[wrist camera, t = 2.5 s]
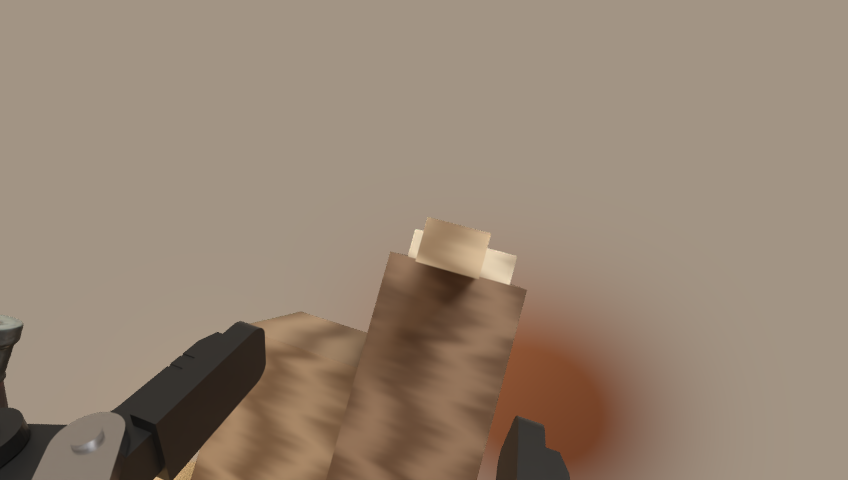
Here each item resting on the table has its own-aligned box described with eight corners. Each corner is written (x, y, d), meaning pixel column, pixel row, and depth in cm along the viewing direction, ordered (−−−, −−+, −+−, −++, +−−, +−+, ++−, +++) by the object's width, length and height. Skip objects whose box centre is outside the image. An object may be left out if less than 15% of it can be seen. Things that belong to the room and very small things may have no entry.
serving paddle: (501, 281, 40) (506, 259, 40) (531, 294, 19) (543, 247, 19) (423, 259, 42) (429, 238, 42) (367, 247, 20) (380, 204, 20)
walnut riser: (435, 571, 39) (511, 284, 41) (418, 700, 27) (526, 290, 29) (248, 492, 43) (324, 231, 44) (161, 577, 31) (269, 217, 32)
